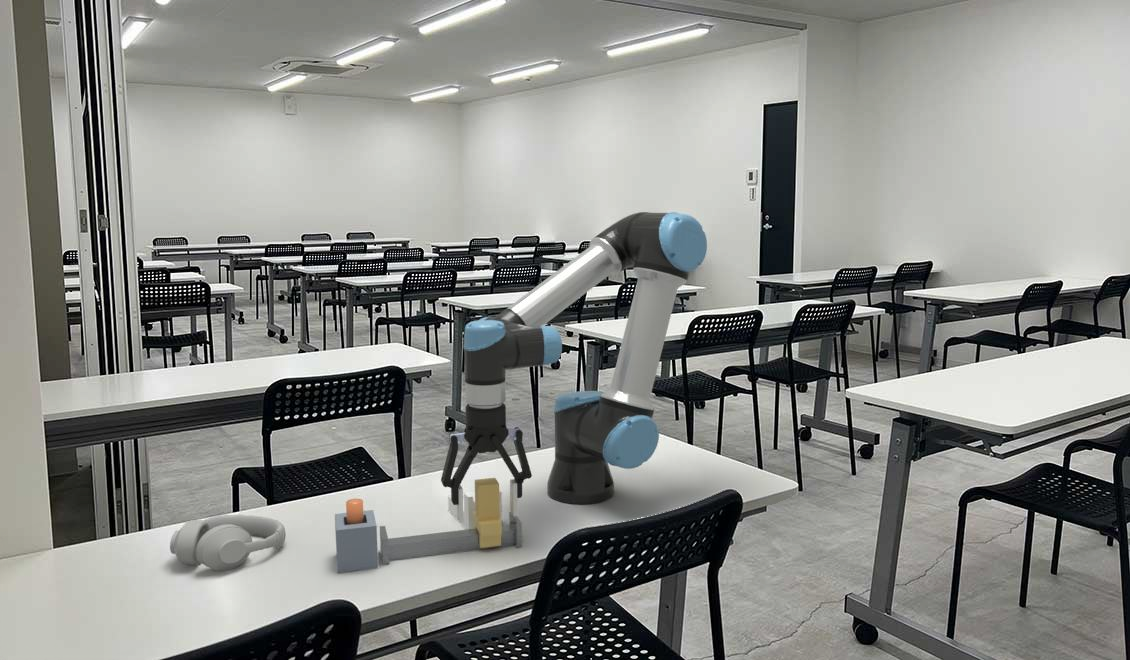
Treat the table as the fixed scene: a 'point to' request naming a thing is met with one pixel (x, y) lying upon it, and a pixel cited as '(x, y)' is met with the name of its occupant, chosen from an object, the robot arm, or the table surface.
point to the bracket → (469, 509)
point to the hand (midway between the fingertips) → (487, 516)
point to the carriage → (487, 512)
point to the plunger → (354, 511)
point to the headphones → (225, 540)
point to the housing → (356, 543)
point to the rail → (444, 542)
